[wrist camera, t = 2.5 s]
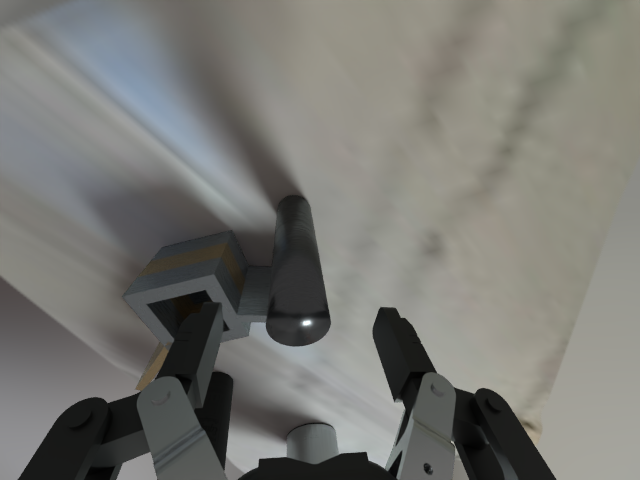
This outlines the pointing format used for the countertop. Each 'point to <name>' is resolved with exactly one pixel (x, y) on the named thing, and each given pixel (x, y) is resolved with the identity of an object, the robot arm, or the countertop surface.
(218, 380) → the drinking cup
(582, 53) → the countertop surface
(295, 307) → the hinge pin
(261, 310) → the hinge
